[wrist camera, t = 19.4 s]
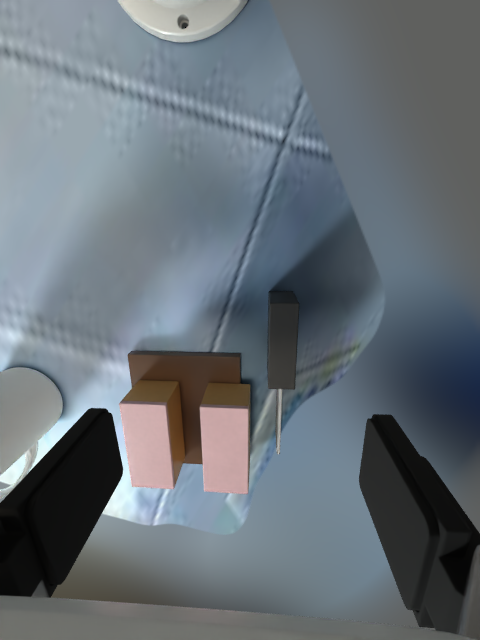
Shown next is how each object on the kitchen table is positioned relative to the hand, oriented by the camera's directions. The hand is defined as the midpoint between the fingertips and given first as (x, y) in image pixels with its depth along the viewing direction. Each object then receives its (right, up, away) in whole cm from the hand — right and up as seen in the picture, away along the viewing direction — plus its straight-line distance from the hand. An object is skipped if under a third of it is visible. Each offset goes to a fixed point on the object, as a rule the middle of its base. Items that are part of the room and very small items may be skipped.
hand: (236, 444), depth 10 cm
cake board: (-6, -6, +22) cm, 24 cm away
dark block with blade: (+4, 0, +20) cm, 20 cm away
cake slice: (-1, -7, +21) cm, 22 cm away
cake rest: (-9, -7, +22) cm, 25 cm away
